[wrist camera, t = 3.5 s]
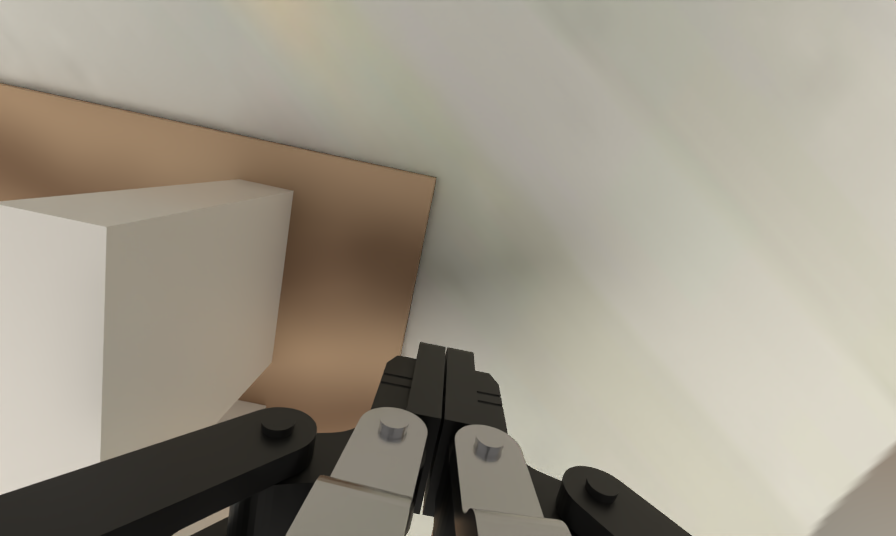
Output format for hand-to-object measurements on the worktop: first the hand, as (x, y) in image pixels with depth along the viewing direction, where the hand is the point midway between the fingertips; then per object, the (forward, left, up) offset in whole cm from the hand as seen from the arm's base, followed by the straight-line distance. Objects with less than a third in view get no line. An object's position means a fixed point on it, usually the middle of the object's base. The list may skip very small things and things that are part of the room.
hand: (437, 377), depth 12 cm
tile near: (0, -7, -5) cm, 9 cm away
